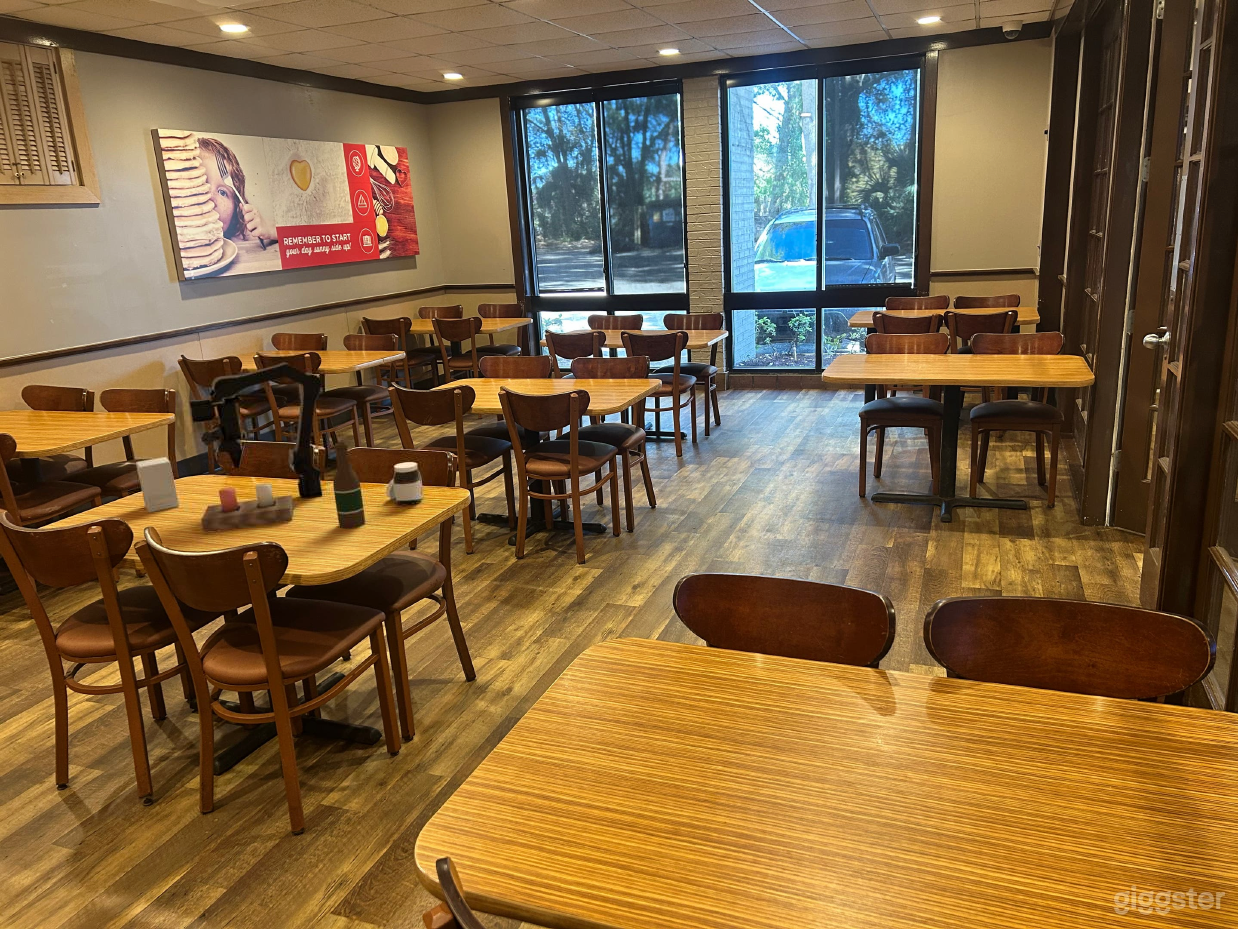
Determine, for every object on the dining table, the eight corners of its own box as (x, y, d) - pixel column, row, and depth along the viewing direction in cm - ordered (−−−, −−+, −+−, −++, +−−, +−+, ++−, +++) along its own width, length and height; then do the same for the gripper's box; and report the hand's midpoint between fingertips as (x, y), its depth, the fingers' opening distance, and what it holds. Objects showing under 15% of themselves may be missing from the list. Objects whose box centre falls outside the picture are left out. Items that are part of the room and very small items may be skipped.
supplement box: (175, 500, 289) (166, 456, 285) (179, 506, 282) (171, 461, 278) (144, 506, 284) (135, 461, 281) (148, 512, 277) (138, 466, 273)
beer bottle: (361, 528, 251) (350, 446, 244) (334, 529, 251) (322, 447, 245) (369, 519, 258) (358, 439, 252) (343, 520, 258) (331, 440, 252)
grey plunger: (274, 501, 267) (271, 482, 266) (273, 505, 263) (270, 486, 261) (258, 503, 266) (255, 484, 264) (257, 507, 262) (254, 488, 260)
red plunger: (239, 506, 264) (235, 487, 263) (237, 510, 260) (234, 490, 259) (223, 508, 263) (219, 489, 262) (221, 512, 259) (217, 492, 258)
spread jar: (418, 505, 269) (414, 468, 265) (381, 507, 269) (376, 470, 266) (427, 494, 280) (423, 458, 277) (392, 495, 280) (387, 460, 277)
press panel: (294, 507, 274) (292, 495, 273) (291, 520, 261) (289, 507, 260) (210, 518, 267) (207, 506, 266) (203, 532, 254) (201, 519, 253)
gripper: (204, 415, 275) (213, 464, 279) (195, 427, 258) (205, 478, 262) (242, 411, 278) (250, 459, 282) (236, 423, 261) (245, 473, 265)
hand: (237, 467), depth 273 cm, fingers closed
